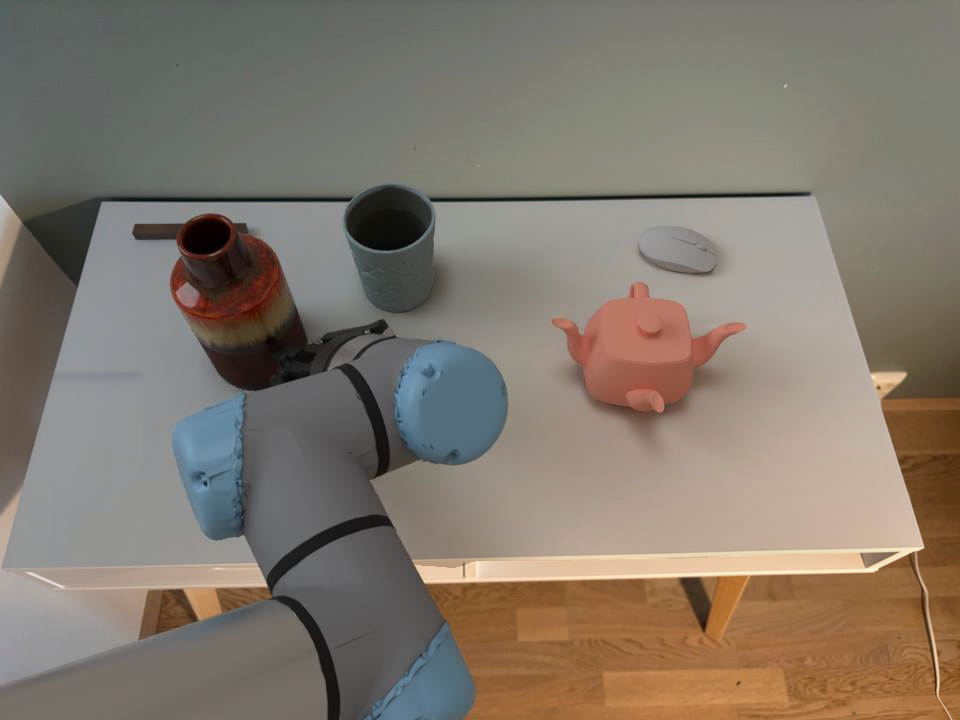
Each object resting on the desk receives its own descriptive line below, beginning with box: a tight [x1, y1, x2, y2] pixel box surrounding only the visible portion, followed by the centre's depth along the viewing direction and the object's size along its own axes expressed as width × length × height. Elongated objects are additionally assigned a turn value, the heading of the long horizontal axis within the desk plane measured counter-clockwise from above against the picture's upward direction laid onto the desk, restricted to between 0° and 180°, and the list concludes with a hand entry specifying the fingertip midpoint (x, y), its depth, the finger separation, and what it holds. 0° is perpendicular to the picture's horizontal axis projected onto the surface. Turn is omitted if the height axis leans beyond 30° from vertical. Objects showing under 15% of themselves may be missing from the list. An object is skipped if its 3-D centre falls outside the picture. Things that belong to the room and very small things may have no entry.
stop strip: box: [131, 222, 249, 240], centre depth 93 cm, size 14×2×1 cm, turn 91°
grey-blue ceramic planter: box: [341, 182, 437, 313], centre depth 85 cm, size 10×10×12 cm
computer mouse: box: [638, 225, 718, 274], centre depth 91 cm, size 6×10×3 cm, turn 77°
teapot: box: [550, 281, 748, 414], centre depth 79 cm, size 14×14×11 cm
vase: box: [169, 212, 308, 391], centre depth 76 cm, size 11×11×20 cm
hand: (285, 359), depth 77 cm, fingers closed
